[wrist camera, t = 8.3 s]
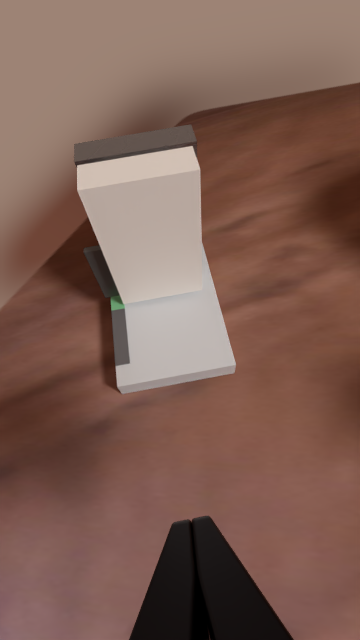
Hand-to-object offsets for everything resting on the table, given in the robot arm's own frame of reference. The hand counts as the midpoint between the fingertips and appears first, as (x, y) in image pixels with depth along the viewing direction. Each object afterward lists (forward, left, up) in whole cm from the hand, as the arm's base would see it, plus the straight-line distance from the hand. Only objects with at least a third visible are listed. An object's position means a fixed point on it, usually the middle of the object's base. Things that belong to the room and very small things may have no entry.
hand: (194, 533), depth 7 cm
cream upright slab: (+15, +6, -11) cm, 20 cm away
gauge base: (+14, +5, -13) cm, 20 cm away
